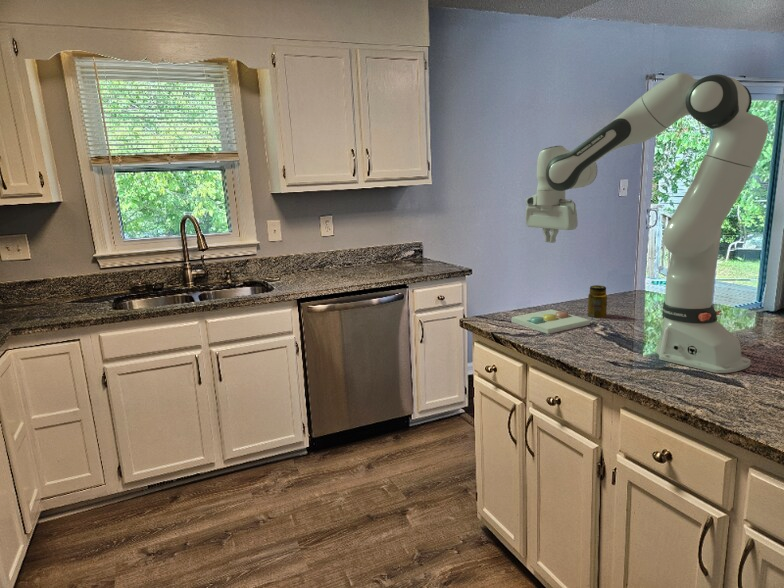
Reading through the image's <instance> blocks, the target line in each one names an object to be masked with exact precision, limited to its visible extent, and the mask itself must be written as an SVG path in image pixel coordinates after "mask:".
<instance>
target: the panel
mask: <svg viewBox="0 0 784 588" xmlns="http://www.w3.org/2000/svg"><path fill="white" fill-rule="evenodd" d="M556 312H560V310H559V311H558V310H555V309H552V308H551V309H546V310H542V311H541V310H540V311H535V312H531V313H527V314H522V315H521V314H520V315H515V316H512V317H511V323H514V324H517V325H520V326H523V327H527V328H528V329H529V328H530V329H533V330H535V331H538V332H542V333H543V334H547V335H550V334H553V333H557V332H563V331H567V330H571V329H575V328H580V327H584V326H588V325H589V326H590V325H591V320H590V319H588V318H584V317H581V316H577V315H573V314H571V313H570V314H569V315H568V318H563V319H561V318H557V317H556V320H554V321H546V320H544V323H540V324H534V323H531V317H542V318H543V315H545V314H553V315H556Z"/></svg>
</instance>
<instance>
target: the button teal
mask: <svg viewBox="0 0 784 588" xmlns="http://www.w3.org/2000/svg"><path fill="white" fill-rule="evenodd" d="M531 323H534V324H540V323H544V318H542V317H531Z"/></svg>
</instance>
